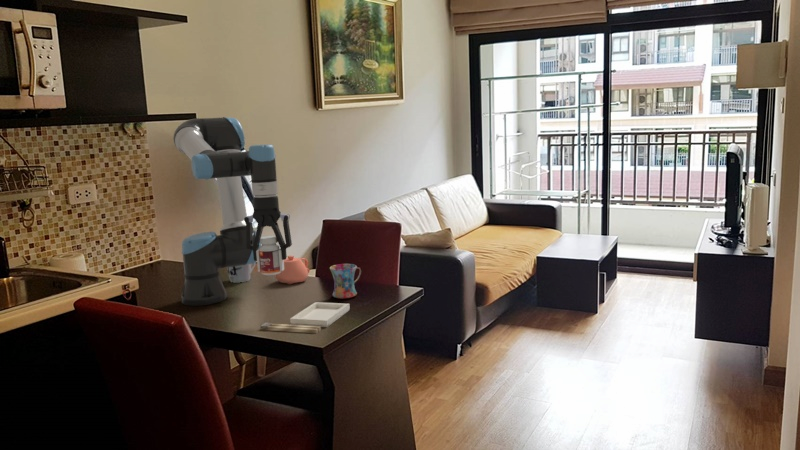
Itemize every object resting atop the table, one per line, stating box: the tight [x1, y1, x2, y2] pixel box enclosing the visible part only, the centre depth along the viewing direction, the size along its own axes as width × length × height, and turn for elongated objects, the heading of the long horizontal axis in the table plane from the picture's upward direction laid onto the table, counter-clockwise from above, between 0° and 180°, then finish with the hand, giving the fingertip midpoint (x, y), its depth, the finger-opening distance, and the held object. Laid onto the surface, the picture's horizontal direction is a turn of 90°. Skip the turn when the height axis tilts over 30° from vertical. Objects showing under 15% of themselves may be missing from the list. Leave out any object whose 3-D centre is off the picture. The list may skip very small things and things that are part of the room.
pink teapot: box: [275, 255, 310, 286], centre depth 249 cm, size 12×14×10 cm
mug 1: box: [226, 262, 257, 284], centre depth 255 cm, size 10×15×10 cm
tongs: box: [259, 322, 322, 334], centre depth 190 cm, size 18×3×1 cm, turn 73°
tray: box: [289, 301, 351, 328], centre depth 201 cm, size 12×18×2 cm, turn 163°
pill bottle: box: [259, 235, 281, 276], centre depth 199 cm, size 6×6×11 cm
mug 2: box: [329, 263, 362, 299], centre depth 224 cm, size 12×9×11 cm
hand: (271, 270), depth 199 cm, fingers closed on pill bottle, 6 cm apart
